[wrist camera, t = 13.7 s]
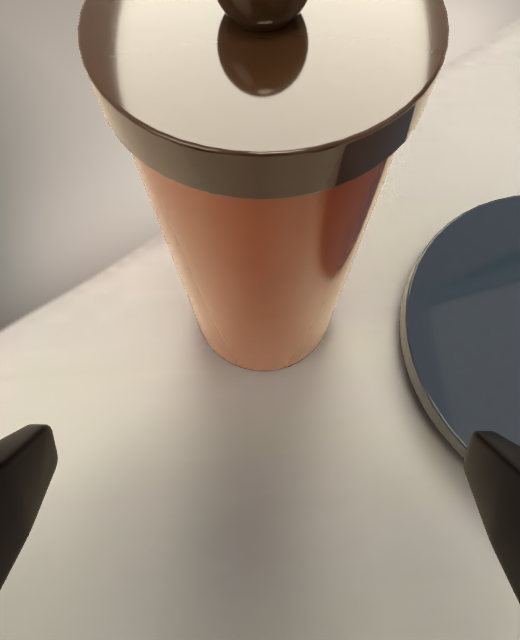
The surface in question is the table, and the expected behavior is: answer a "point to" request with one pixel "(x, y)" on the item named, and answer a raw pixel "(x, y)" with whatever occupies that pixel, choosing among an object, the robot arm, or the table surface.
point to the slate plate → (467, 324)
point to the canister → (263, 144)
